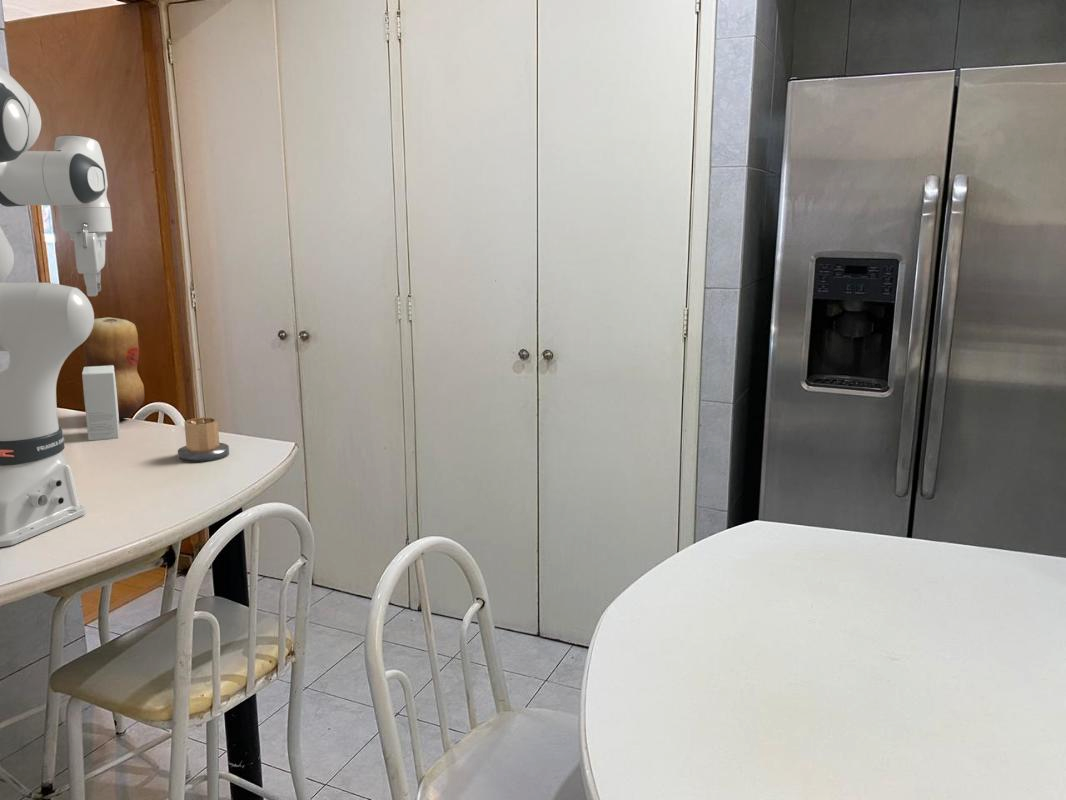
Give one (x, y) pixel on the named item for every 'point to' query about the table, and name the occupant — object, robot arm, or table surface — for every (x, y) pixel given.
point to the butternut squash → (117, 359)
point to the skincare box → (101, 402)
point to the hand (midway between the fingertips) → (94, 293)
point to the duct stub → (203, 454)
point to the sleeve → (202, 435)
